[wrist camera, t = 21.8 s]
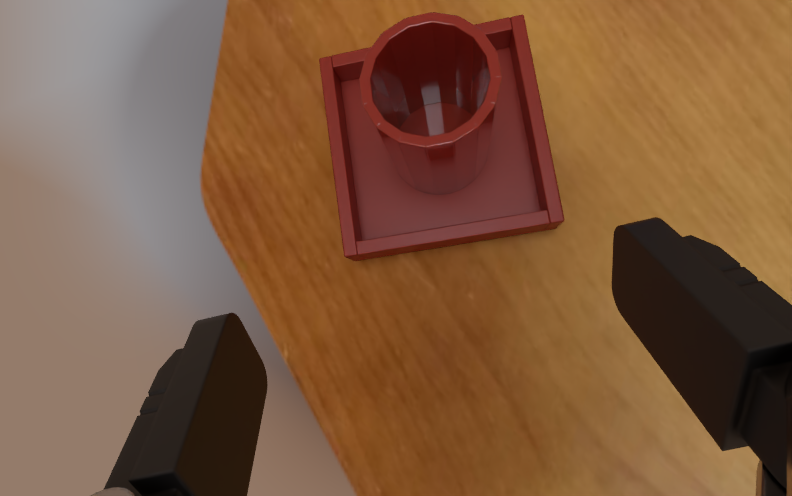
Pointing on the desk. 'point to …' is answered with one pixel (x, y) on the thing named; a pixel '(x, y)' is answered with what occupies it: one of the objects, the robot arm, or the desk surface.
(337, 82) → the red tray
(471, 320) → the desk surface
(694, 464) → the desk surface
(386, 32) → the red cup
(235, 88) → the desk surface
